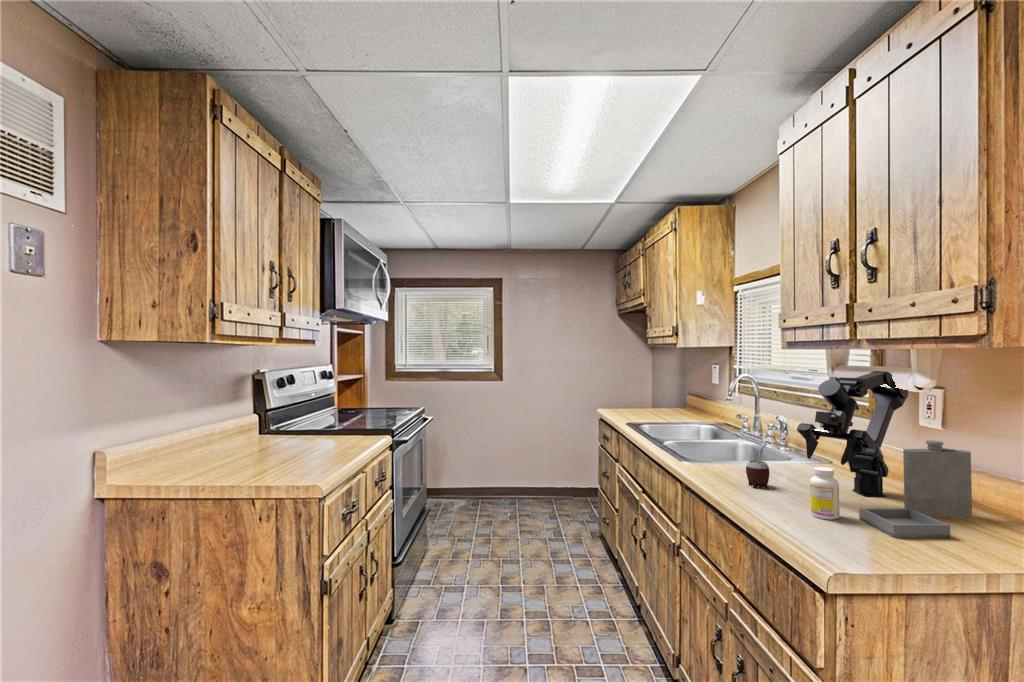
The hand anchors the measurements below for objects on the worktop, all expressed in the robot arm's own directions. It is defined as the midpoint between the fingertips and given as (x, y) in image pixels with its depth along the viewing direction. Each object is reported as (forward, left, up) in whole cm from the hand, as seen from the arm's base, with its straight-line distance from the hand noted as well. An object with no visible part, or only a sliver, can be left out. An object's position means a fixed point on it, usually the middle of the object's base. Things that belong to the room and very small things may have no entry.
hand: (824, 461), depth 145 cm
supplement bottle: (+4, +7, -13) cm, 16 cm away
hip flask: (-26, +6, -13) cm, 30 cm away
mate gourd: (+9, -22, -13) cm, 27 cm away
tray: (-10, +16, -13) cm, 23 cm away
